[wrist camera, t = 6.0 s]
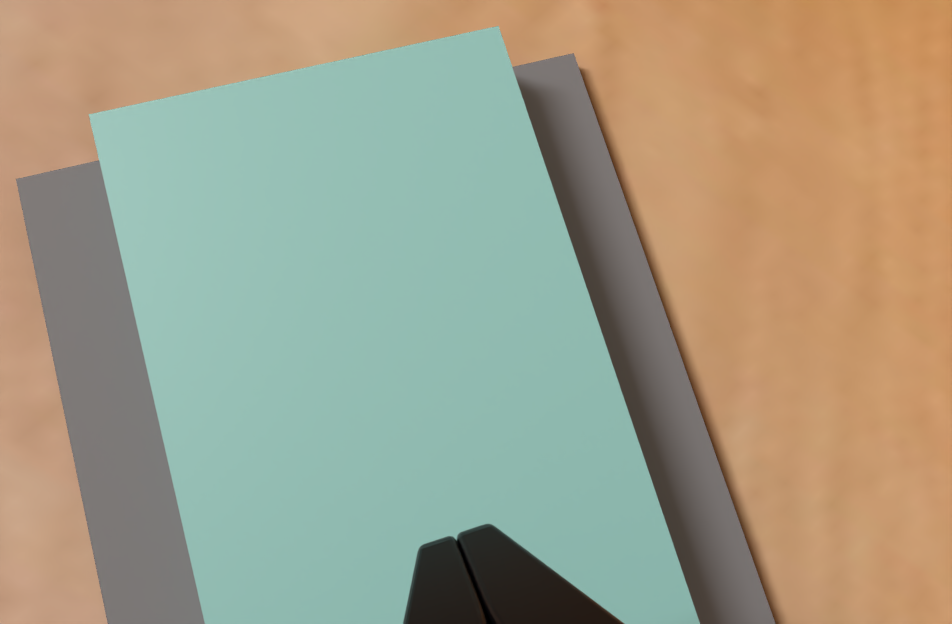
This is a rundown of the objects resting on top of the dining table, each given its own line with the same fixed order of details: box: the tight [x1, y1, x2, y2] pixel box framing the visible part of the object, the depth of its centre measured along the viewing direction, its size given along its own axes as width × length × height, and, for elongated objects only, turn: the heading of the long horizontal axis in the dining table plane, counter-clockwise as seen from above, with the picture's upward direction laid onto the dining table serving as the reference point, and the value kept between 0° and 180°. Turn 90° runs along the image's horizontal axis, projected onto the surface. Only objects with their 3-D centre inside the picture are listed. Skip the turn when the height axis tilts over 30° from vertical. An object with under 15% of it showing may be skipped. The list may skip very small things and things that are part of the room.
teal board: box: [89, 26, 700, 624], centre depth 15 cm, size 2×8×12 cm
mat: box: [16, 53, 775, 624], centre depth 15 cm, size 18×12×1 cm, turn 17°
